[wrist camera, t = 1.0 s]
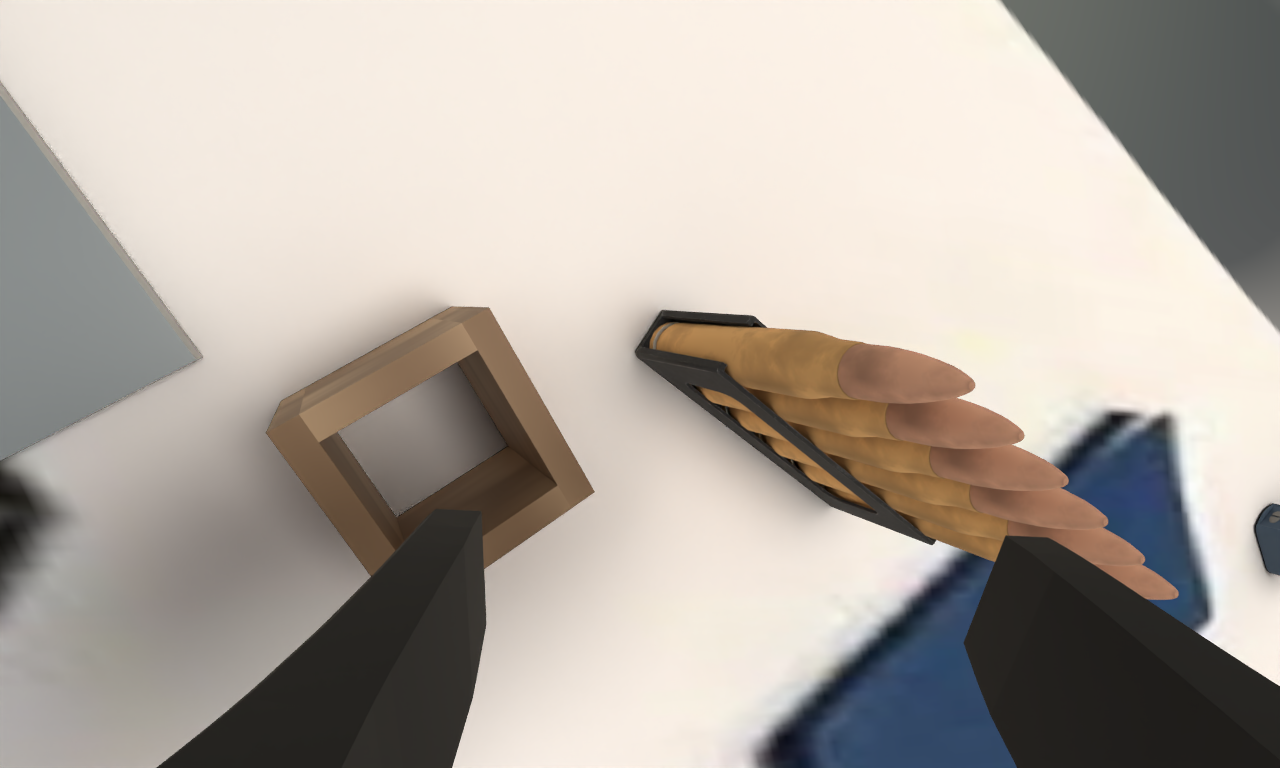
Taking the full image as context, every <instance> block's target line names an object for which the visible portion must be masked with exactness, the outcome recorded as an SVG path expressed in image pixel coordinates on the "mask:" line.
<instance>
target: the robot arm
mask: <svg viewBox="0 0 1280 768" xmlns="http://www.w3.org/2000/svg"><path fill="white" fill-rule="evenodd" d="M485 629H486V606H485V582H484V558H483V534H482V511H471V510H449V509H435V510H434V511H433V512H431V513H430V514H429V515H428V516H427V517H426V518H425V519H424V520H423V521H422V522H421V523H420V524H419V526H418V527H417V528H416V529H415V530H414V531H413V532H412V533H411V534H410V535H409V537H408V538H407V539H406V540H405V541H404V542H403V543H402V544H401V545H400V546H399V548H398V549H397V550H396V551H395V552H394V553H393V554H392V555H391V556H390V557H389V558H388V559H387V560H386V561H385V563H384V564H383V565H382V566H381V567H380V568H379V569H378V570H377V571H376V572H375V573H374V574H373V575H372V576H371V577H370V578H369V579H368V580H367V581H366V582H365V583H364V584H363V585H362V586H361V587H360V588H359V589H358V590H357V591H356V592H355V593H354V594H353V595H352V596H351V597H350V599H349V600H348V601H347V602H346V603H345V604H344V605H343V606H342V607H341V608H340V609H339V610H338V611H337V612H336V613H335V614H334V615H333V616H332V617H331V618H330V619H329V620H328V621H327V622H325V623H324V624H323V625H322V626H321V627H320V628H319V629H318V630H317V631H316V632H315V633H314V634H313V635H312V636H311V637H310V638H309V639H307V640H306V641H305V642H304V643H303V644H302V645H301V646H300V647H299V648H298V649H297V650H295V651H294V652H293V653H292V654H291V655H290V656H289V657H288V658H287V659H286V660H285V661H283V662H282V663H281V664H280V665H279V666H278V667H277V668H276V669H275V670H274V671H272V672H271V673H270V674H269V675H268V676H267V677H266V678H265V679H264V680H263V681H262V682H260V683H259V684H258V685H257V686H256V687H255V688H254V689H252V690H251V691H250V692H249V693H248V694H247V695H245V696H244V697H243V698H242V699H241V700H240V701H238V702H237V703H236V704H235V705H234V706H232V707H231V708H230V709H229V710H228V711H227V712H225V713H224V714H223V715H222V716H221V717H219V718H218V719H217V720H216V721H215V722H213V723H212V724H211V725H210V726H208V727H207V728H206V729H205V730H203V731H202V732H201V733H200V734H198V735H197V736H196V737H195V738H193V739H192V740H191V741H190V742H188V743H187V744H186V745H185V746H183V747H182V748H181V749H180V750H178V751H177V752H176V753H175V754H173V755H172V756H171V757H170V758H168V759H167V760H166V761H164V762H163V763H162V764H161V765H159V766H158V767H157V768H452V766H453V763H454V759H455V756H456V752H457V749H458V746H459V742H460V739H461V736H462V732H463V729H464V726H465V722H466V719H467V715H468V712H469V709H470V705H471V702H472V698H473V693H474V688H475V683H476V678H477V673H478V667H479V662H480V656H481V651H482V645H483V640H484V634H485ZM964 645H965V648H966V651H967V654H968V657H969V659H970V662H971V665H972V668H973V671H974V674H975V676H976V679H977V682H978V685H979V687H980V690H981V692H982V695H983V697H984V700H985V702H986V705H987V707H988V710H989V713H990V715H991V717H992V719H993V721H994V723H995V725H996V727H997V729H998V731H999V733H1000V735H1001V737H1002V739H1003V741H1004V743H1005V745H1006V747H1007V749H1008V751H1009V752H1010V754H1011V756H1012V758H1013V760H1014V762H1015V764H1016V766H1017V768H1280V686H1278V685H1277V684H1275V683H1274V682H1272V681H1270V680H1269V679H1267V678H1266V677H1264V676H1263V675H1261V674H1259V673H1258V672H1256V671H1255V670H1253V669H1252V668H1250V667H1248V666H1247V665H1245V664H1244V663H1242V662H1241V661H1239V660H1238V659H1236V658H1235V657H1233V656H1231V655H1230V654H1228V653H1227V652H1225V651H1224V650H1222V649H1221V648H1219V647H1218V646H1216V645H1215V644H1213V643H1212V642H1210V641H1209V640H1207V639H1205V638H1204V637H1202V636H1201V635H1199V634H1198V633H1196V632H1195V631H1193V630H1192V629H1190V628H1189V627H1187V626H1186V625H1184V624H1183V623H1181V622H1180V621H1178V620H1177V619H1175V618H1174V617H1172V616H1171V615H1169V614H1168V613H1166V612H1165V611H1163V610H1162V609H1160V608H1159V607H1157V606H1156V605H1154V604H1153V603H1151V602H1150V601H1148V600H1147V599H1145V598H1144V597H1142V596H1141V595H1139V594H1138V593H1136V592H1135V591H1133V590H1132V589H1130V588H1129V587H1127V586H1126V585H1124V584H1123V583H1121V582H1120V581H1118V580H1117V579H1115V578H1114V577H1112V576H1111V575H1109V574H1107V573H1106V572H1104V571H1103V570H1101V569H1100V568H1098V567H1097V566H1095V565H1094V564H1092V563H1090V562H1089V561H1087V560H1086V559H1084V558H1083V557H1081V556H1079V555H1078V554H1076V553H1074V552H1073V551H1071V550H1069V549H1068V548H1066V547H1064V546H1063V545H1061V544H1059V543H1057V542H1056V541H1054V540H1052V539H1050V538H1048V537H1029V536H1007V535H1005V538H1004V541H1003V543H1002V546H1001V548H1000V551H999V553H998V556H997V558H996V561H995V564H994V566H993V569H992V571H991V574H990V576H989V579H988V582H987V584H986V587H985V589H984V592H983V594H982V597H981V600H980V602H979V605H978V607H977V610H976V612H975V615H974V618H973V620H972V623H971V625H970V628H969V630H968V633H967V636H966V638H965V641H964Z"/></svg>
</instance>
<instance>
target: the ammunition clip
mask: <svg viewBox="0 0 1280 768" xmlns="http://www.w3.org/2000/svg"><path fill="white" fill-rule="evenodd" d="M636 355H637V357H638V358H639V359H640V360H641V361H643V362H644V363H645V364H647V365H648V366H649V367H651V368H652V369H653V370H654V371H656V372H657V373H658V374H660V375H661V376H662V377H664V378H665V379H666V380H667V381H669V382H670V383H671V384H673V385H674V386H675V387H677V388H678V389H679V390H680V391H682V392H683V393H684V394H686V395H687V396H688V397H690V398H691V399H692V400H693V401H695V402H696V403H697V404H699V405H700V406H701V407H703V408H704V409H705V410H706V411H708V412H709V413H710V414H712V415H713V416H714V417H716V418H717V419H718V420H719V421H721V422H722V423H723V424H725V425H726V426H727V427H729V428H730V429H731V430H733V431H734V432H735V433H736V434H738V435H739V436H740V437H742V438H743V439H744V440H746V441H747V442H748V443H749V444H751V445H752V446H753V447H755V448H756V449H757V450H759V451H760V452H761V453H762V454H764V455H765V456H766V457H768V458H769V459H770V460H772V461H773V462H774V463H775V464H777V465H778V466H779V467H781V468H782V469H783V470H785V471H786V472H787V473H788V474H790V475H791V476H792V477H794V478H795V479H796V480H798V481H799V482H800V483H801V484H803V485H804V486H805V487H807V488H808V489H809V490H811V491H812V492H813V493H814V494H816V495H817V496H818V497H820V498H821V499H822V500H824V501H825V502H826V503H827V504H829V505H830V506H831V507H834V508H837V509H839V510H842V511H844V512H847V513H849V514H852V515H855V516H857V517H860V518H862V519H865V520H868V521H870V522H873V523H875V524H878V525H881V526H883V527H886V528H888V529H891V530H894V531H896V532H899V533H901V534H904V535H907V536H909V537H912V538H914V539H917V540H919V541H922V542H925V543H927V544H930V545H933V544H934V543H935V541H936V540H938V541H941V542H943V543H946V544H949V545H951V546H954V547H957V548H959V549H962V550H965V551H967V552H970V553H972V554H975V555H978V556H980V557H983V558H986V559H988V560H991V561H994V562H995V561H996V558H997V556H998V553H999V551H1000V548H1001V546H1002V543H1003V541H1004V538H1005V535H1007V536H1029V537H1048V538H1050V539H1052V540H1054V541H1056V542H1057V543H1059V544H1061V545H1063V546H1064V547H1066V548H1068V549H1069V550H1071V551H1073V552H1074V553H1076V554H1078V555H1079V556H1081V557H1083V558H1084V559H1086V560H1087V561H1089V562H1090V563H1092V564H1094V565H1095V566H1097V567H1098V568H1100V569H1101V570H1103V571H1104V572H1106V573H1107V574H1109V575H1111V576H1112V577H1114V578H1115V579H1117V580H1118V581H1120V582H1121V583H1123V584H1124V585H1126V586H1127V587H1129V588H1130V589H1132V590H1133V591H1135V592H1136V593H1138V594H1139V595H1141V596H1142V597H1144V598H1145V599H1155V600H1164V599H1174V598H1177V597H1178V591H1177V589H1176V588H1175V587H1173V586H1172V585H1171V584H1170V583H1169V582H1167V581H1166V580H1165V579H1164V578H1162V577H1161V576H1159V575H1158V574H1157V573H1155V572H1153V571H1152V570H1150V569H1148V568H1147V567H1145V566H1143V565H1141V564H1143V563H1144V562H1145V557H1144V556H1143V554H1142V553H1140V552H1139V551H1138V550H1137V549H1136V548H1135V547H1133V546H1132V545H1131V544H1129V543H1128V542H1126V541H1125V540H1123V539H1122V538H1120V537H1119V536H1117V535H1115V534H1113V533H1111V532H1110V531H1108V530H1106V529H1104V528H1102V527H1105V526H1106V525H1107V524H1108V519H1107V517H1106V516H1105V515H1104V514H1102V513H1101V512H1100V511H1099V510H1097V509H1096V508H1095V507H1094V506H1092V505H1091V504H1089V503H1088V502H1086V501H1085V500H1083V499H1081V498H1079V497H1077V496H1075V495H1073V494H1071V493H1070V492H1068V491H1066V490H1063V489H1061V488H1060V487H1064V486H1066V485H1067V484H1068V478H1067V476H1066V475H1065V474H1064V473H1063V472H1061V471H1060V470H1059V469H1058V468H1056V467H1055V466H1054V465H1052V464H1050V463H1049V462H1047V461H1046V460H1044V459H1042V458H1040V457H1038V456H1036V455H1034V454H1032V453H1030V452H1028V451H1026V450H1023V449H1021V448H1019V447H1016V446H1014V445H1011V444H1015V443H1018V442H1020V441H1022V440H1023V439H1024V433H1023V431H1022V430H1021V429H1020V428H1019V427H1018V426H1016V425H1015V424H1014V423H1012V422H1011V421H1010V420H1008V419H1006V418H1005V417H1003V416H1001V415H999V414H997V413H995V412H993V411H991V410H989V409H986V408H984V407H982V406H979V405H976V404H974V403H971V402H968V401H965V400H962V399H958V398H956V397H959V396H962V395H965V394H967V393H969V392H971V391H972V390H973V389H974V388H975V382H974V380H973V379H972V378H970V377H969V376H968V375H967V374H965V373H964V372H962V371H961V370H959V369H958V368H956V367H954V366H952V365H950V364H947V363H945V362H942V361H940V360H938V359H935V358H932V357H929V356H926V355H923V354H920V353H917V352H913V351H909V350H904V349H900V348H895V347H890V346H881V345H870V344H866V343H863V342H857V341H849V340H842V339H838V338H835V337H833V336H830V335H827V334H824V333H821V332H817V331H806V330H791V329H776V328H767V327H766V326H765V325H764V324H762V323H761V322H760V321H759V320H758V319H757V318H756V317H754V316H750V315H734V314H717V313H701V312H684V311H668V310H663V311H662V312H661V314H660V315H659V317H658V318H657V320H656V321H655V323H654V324H653V326H652V327H651V329H650V330H649V332H648V333H647V335H646V337H645V338H644V340H643V341H642V343H641V344H640V346H639V347H638V349H637V350H636Z"/></svg>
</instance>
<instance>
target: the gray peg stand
mask: <svg viewBox="0 0 1280 768" xmlns="http://www.w3.org/2000/svg"><path fill="white" fill-rule="evenodd" d="M202 357H203V356H202V355H201V354H200V352H199V351H198V350H197V348H196V347H195V345H194V344H193V343H192V341H191V340H190V339H189V337H188V336H187V335H186V333H185V332H184V330H183V329H182V328H181V326H180V325H179V324H178V322H177V321H176V320H175V318H174V317H173V316H172V314H171V313H170V311H169V310H168V309H167V307H166V306H165V305H164V303H163V302H162V301H161V299H160V298H159V297H158V295H157V294H156V292H155V291H154V290H153V288H152V287H151V286H150V284H149V283H148V282H147V280H146V279H145V278H144V276H143V275H142V273H141V272H140V271H139V269H138V268H137V267H136V265H135V264H134V263H133V261H132V260H131V258H130V257H129V256H128V254H127V253H126V252H125V250H124V249H123V248H122V246H121V245H120V244H119V242H118V241H117V239H116V238H115V237H114V235H113V234H112V233H111V231H110V230H109V229H108V227H107V226H106V225H105V223H104V222H103V220H102V219H101V218H100V216H99V215H98V214H97V212H96V211H95V210H94V208H93V207H92V206H91V204H90V203H89V201H88V200H87V199H86V197H85V196H84V195H83V193H82V192H81V191H80V189H79V188H78V186H77V185H76V184H75V182H74V181H73V180H72V178H71V177H70V176H69V174H68V173H67V172H66V170H65V169H64V167H63V166H62V165H61V163H60V162H59V161H58V159H57V158H56V157H55V155H54V154H53V153H52V151H51V150H50V148H49V147H48V146H47V144H46V143H45V142H44V140H43V139H42V138H41V136H40V135H39V134H38V132H37V131H36V129H35V128H34V127H33V125H32V124H31V123H30V121H29V120H28V119H27V117H26V116H25V115H24V113H23V112H22V110H21V109H20V108H19V106H18V105H17V104H16V102H15V101H14V100H13V98H12V97H11V95H10V94H9V93H8V91H7V90H6V89H5V87H4V86H3V85H2V83H1V82H0V461H1V460H3V459H5V458H7V457H9V456H11V455H13V454H15V453H17V452H19V451H21V450H23V449H25V448H27V447H29V446H31V445H33V444H35V443H36V442H38V441H40V440H42V439H44V438H46V437H48V436H50V435H52V434H54V433H56V432H58V431H60V430H62V429H64V428H66V427H68V426H70V425H72V424H74V423H75V422H77V421H79V420H81V419H83V418H85V417H87V416H89V415H91V414H93V413H95V412H97V411H99V410H101V409H103V408H105V407H107V406H109V405H111V404H113V403H115V402H116V401H118V400H120V399H122V398H124V397H126V396H128V395H130V394H132V393H134V392H136V391H138V390H140V389H142V388H144V387H146V386H148V385H150V384H152V383H154V382H155V381H157V380H159V379H161V378H163V377H165V376H167V375H169V374H171V373H173V372H175V371H177V370H179V369H181V368H183V367H185V366H187V365H189V364H191V363H193V362H195V361H196V360H198V359H200V358H202Z"/></svg>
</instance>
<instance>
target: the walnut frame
mask: <svg viewBox="0 0 1280 768" xmlns="http://www.w3.org/2000/svg"><path fill="white" fill-rule="evenodd" d="M456 362H457V363H458V364H459V366H460V367H461V369H462V371H463V372H464V374H465V376H466V377H467V379H468V381H469V382H470V384H471V386H472V387H473V389H474V391H475V392H476V394H477V396H478V397H479V399H480V400H481V402H482V404H483V405H484V407H485V409H486V410H487V412H488V414H489V415H490V417H491V419H492V420H493V422H494V424H495V425H496V427H497V429H498V430H499V432H500V433H501V435H502V437H503V438H504V440H505V442H506V443H507V445H508V447H506V448H505V449H503V450H501V451H500V452H498V453H497V454H495V455H494V456H492V457H490V458H489V459H487V460H486V461H484V462H483V463H481V464H480V465H478V466H476V467H475V468H473V469H472V470H470V471H469V472H467V473H466V474H464V475H462V476H461V477H459V478H458V479H456V480H455V481H453V482H451V483H450V484H448V485H447V486H445V487H444V488H442V489H441V490H439V491H437V492H436V493H434V494H433V495H431V496H430V497H428V498H427V499H425V500H423V501H422V502H420V503H419V504H417V505H416V506H414V507H412V508H411V509H409V510H408V511H406V512H405V513H403V514H402V515H400V516H398V517H397V518H396V516H395V515H394V513H393V512H392V511H391V509H390V508H389V506H388V505H387V503H386V502H385V500H384V499H383V498H382V496H381V495H380V493H379V492H378V490H377V489H376V487H375V486H374V485H373V483H372V482H371V480H370V479H369V477H368V476H367V474H366V473H365V472H364V470H363V469H362V467H361V466H360V464H359V463H358V462H357V460H356V459H355V457H354V456H353V454H352V453H351V451H350V450H349V449H348V447H347V446H346V444H345V443H344V441H343V440H342V438H341V437H340V436H339V434H338V433H337V432H338V431H339V430H341V429H343V428H345V427H346V426H348V425H350V424H351V423H353V422H355V421H357V420H358V419H360V418H362V417H364V416H365V415H367V414H369V413H370V412H372V411H374V410H376V409H377V408H379V407H381V406H382V405H384V404H386V403H388V402H389V401H391V400H393V399H394V398H396V397H398V396H400V395H401V394H403V393H405V392H407V391H408V390H410V389H412V388H413V387H415V386H417V385H419V384H420V383H422V382H424V381H425V380H427V379H429V378H431V377H432V376H434V375H436V374H437V373H439V372H441V371H443V370H444V369H446V368H448V367H450V366H451V365H453V364H455V363H456ZM266 434H267V435H268V436H269V438H270V439H271V440H272V442H273V443H274V445H275V446H276V447H277V449H278V450H279V451H280V453H281V454H282V455H283V457H284V458H285V460H286V461H287V462H288V464H289V465H290V466H291V468H292V469H293V471H294V472H295V473H296V475H297V476H298V477H299V479H300V480H301V481H302V483H303V484H304V486H305V487H306V488H307V490H308V491H309V492H310V494H311V495H312V496H313V498H314V499H315V501H316V502H317V503H318V505H319V506H320V507H321V509H322V510H323V511H324V513H325V514H326V516H327V517H328V518H329V520H330V521H331V522H332V524H333V525H334V526H335V528H336V529H337V531H338V532H339V533H340V535H341V536H342V537H343V539H344V540H345V542H346V543H347V544H348V546H349V547H350V548H351V550H352V551H353V552H354V554H355V555H356V557H357V558H358V559H359V561H360V562H361V563H362V565H363V566H364V567H365V569H366V570H367V572H368V573H369V574H370V576H372V575H373V574H374V573H375V572H376V571H377V570H378V569H379V568H380V567H381V566H382V565H383V564H384V563H385V561H386V560H387V559H388V558H389V557H390V556H391V555H392V554H393V553H394V552H395V551H396V550H397V549H398V548H399V546H400V545H401V544H402V543H403V542H404V541H405V540H406V539H407V538H408V537H409V535H410V534H411V533H412V532H413V531H414V530H415V529H416V528H417V527H418V526H419V524H420V523H421V522H422V521H423V520H424V519H425V518H426V517H427V516H428V515H429V514H430V513H431V512H433V511H434V510H435V509H449V510H471V511H482V534H483V558H484V569H485V568H486V567H488V566H489V565H491V564H492V563H494V562H495V561H496V560H498V559H499V558H501V557H502V556H504V555H505V554H507V553H508V552H509V551H511V550H512V549H514V548H515V547H517V546H518V545H519V544H521V543H522V542H524V541H525V540H527V539H528V538H530V537H531V536H532V535H534V534H535V533H537V532H538V531H540V530H541V529H542V528H544V527H545V526H547V525H548V524H550V523H551V522H552V521H554V520H555V519H557V518H558V517H560V516H561V515H563V514H564V513H565V512H567V511H568V510H570V509H571V508H573V507H574V506H575V505H577V504H578V503H580V502H581V501H583V500H584V499H586V498H587V497H588V496H590V495H591V494H593V493H594V490H593V488H592V486H591V485H590V483H589V481H588V479H587V478H586V476H585V474H584V472H583V471H582V469H581V467H580V465H579V464H578V462H577V460H576V458H575V457H574V455H573V453H572V452H571V450H570V448H569V446H568V445H567V443H566V441H565V439H564V438H563V436H562V434H561V432H560V431H559V429H558V427H557V425H556V424H555V422H554V420H553V418H552V417H551V415H550V413H549V411H548V410H547V408H546V406H545V404H544V403H543V401H542V399H541V397H540V396H539V394H538V392H537V390H536V389H535V387H534V385H533V384H532V382H531V380H530V378H529V377H528V375H527V373H526V371H525V370H524V368H523V366H522V364H521V363H520V361H519V359H518V357H517V356H516V354H515V352H514V350H513V349H512V347H511V345H510V343H509V342H508V340H507V338H506V336H505V335H504V333H503V331H502V329H501V328H500V326H499V324H498V322H497V321H496V319H495V317H494V316H493V314H492V312H491V310H490V309H489V308H487V307H450V308H449V309H447V310H445V311H443V312H441V313H440V314H438V315H436V316H434V317H432V318H430V319H429V320H427V321H425V322H423V323H421V324H420V325H418V326H416V327H414V328H412V329H411V330H409V331H407V332H405V333H403V334H401V335H400V336H398V337H396V338H394V339H392V340H391V341H389V342H387V343H385V344H383V345H382V346H380V347H378V348H376V349H374V350H372V351H371V352H369V353H367V354H365V355H363V356H362V357H360V358H358V359H356V360H354V361H353V362H351V363H349V364H347V365H345V366H343V367H342V368H340V369H338V370H336V371H334V372H333V373H331V374H329V375H327V376H325V377H324V378H322V379H320V380H318V381H316V382H314V383H313V384H311V385H309V386H307V387H305V388H304V389H302V390H300V391H298V392H296V393H295V394H293V395H291V396H289V397H287V398H285V399H284V400H282V401H281V402H280V404H279V407H278V409H277V411H276V413H275V415H274V417H273V419H272V421H271V424H270V426H269V428H268V430H267V432H266Z"/></svg>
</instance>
